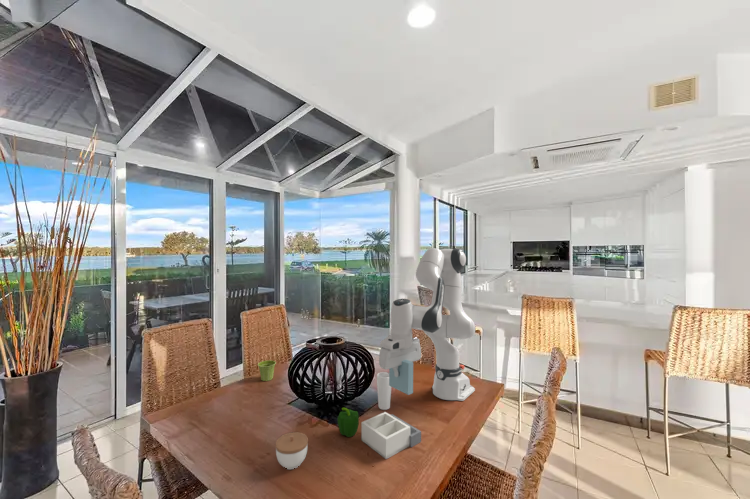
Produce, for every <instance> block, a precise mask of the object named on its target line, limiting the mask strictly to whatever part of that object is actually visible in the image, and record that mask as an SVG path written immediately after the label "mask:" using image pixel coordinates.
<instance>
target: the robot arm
mask: <svg viewBox="0 0 750 499" xmlns="http://www.w3.org/2000/svg"><path fill="white" fill-rule="evenodd" d="M466 264H467V256H466V253H465V252H464V250H463V249H461V248H441V249H439V248H437V247H436V248H435V247H431V248H428V249H427V250H426V251H425V253H424V254H423V255H422V257H421V258H420V260H419V263H418V265H417V267H416V270H415V277H416V280H417V281H418V283H419V284H420V285H421V286H422V287H424V288H426V289H428V290H431V291H432V296H431V297H432V298H431V303H430V305H429V306H422V305H414V304H412V301H411V300H410V299H408V298H396V299H395V300H394V301H393V302H392V304H391V307H390V325H391V326H390V327H391V328H390V332H389V335H388V336H387V337H385V338H384V339H382V340H380V342H379V346H380V347H381V348H380V349H379V354H378V355H379V356H378V365H379V367H380V368H381V369H383V370H389V369H390V368H393V370H394V376H395V377H399V376H400V372H399V371H398V370H397V369H398V366H400V365H402V361H404V360H409V361H411V362H413V363H414V362H416V361H419V360H421V358H422V348H421V344H420V341H421V340H420V338H418V337H417V336H415V337H413V330H418V331H423V333H424V334H426V336H427V337H429V338H430V339H431V341H432V343H433V346H434V348H435V356H436V358H435V359H436V360H435V362H436V363H435V367H434V369H435V372H434V377H433V385H432V387H431V388H432V394H433V395H434V396H435V397H437V398H439V399H441V400H445V401H461V402H462V401H463V402H464V401H465V400H466V399H467V398H468V397H470V395H472V394H473V393H474V392H475V391H476V388H475V387H474V386H473V385H471V382H470V381H471V380H470V378H469V377H468V376H467V375H466V374H464V373H463V372H462V370H464V369H465V368H466V366H465V365H463V364H460V351H459V349H458V347H457V346H455V345H454V344H453V343H451V342H450V341H449V340H448V339H454V340H469V339H470V340H471V338H473V337H474V335H475V333H476V324H475V322H474V320H473V319H472V318H471V317H469V315H468V314H467V313H466V311H465V310H464V308H463V305H462V303H463V302H462V275H461V272H462V270H463V269H464V268H465V266H466ZM443 308H445V309H447V310H448V311H449V314H443Z"/></svg>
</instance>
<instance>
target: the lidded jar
mask: <svg viewBox="0 0 750 499" xmlns="http://www.w3.org/2000/svg"><path fill="white" fill-rule="evenodd" d="M308 444H309V438H308V436H307V435H306V434H305V433H303V432H300V431H294V432H287V433H285V434H283V435H281V436H280V437H278V438H277V439H276V441H275V444H274V445H275V455H276V459H277V462H278V464H279V465H281V466H282V467H283V468H284V467H285V468H287V469H286V470H295V469H297V468H299V467H300V466H301V464H302V463H303V462H304V460H305V459H306V457H307V453H308ZM298 466H299V467H298ZM285 468H284V469H285ZM294 468H295V469H294Z"/></svg>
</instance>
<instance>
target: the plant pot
mask: <svg viewBox="0 0 750 499" xmlns="http://www.w3.org/2000/svg"><path fill="white" fill-rule="evenodd" d="M276 364H277V362H276V361H275V360H270V359H269V360H262V361H259V362H258V363H257V367H258V369H259V373H260V380H261V381H263V382H264V381H266V382H270V381H272V379H273V378H274V373H275V372H274V371H275V366H276Z"/></svg>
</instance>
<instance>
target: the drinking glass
mask: <svg viewBox="0 0 750 499" xmlns="http://www.w3.org/2000/svg"><path fill="white" fill-rule="evenodd" d="M376 389H377V390H376V391H377V401H378V405H377V406H378V408H379V409H380V410H382V411H386V410H390V408H391V397H392V387H391V386H389V371H388V372H386V371H382V372H378V373H377V374H376Z"/></svg>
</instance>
